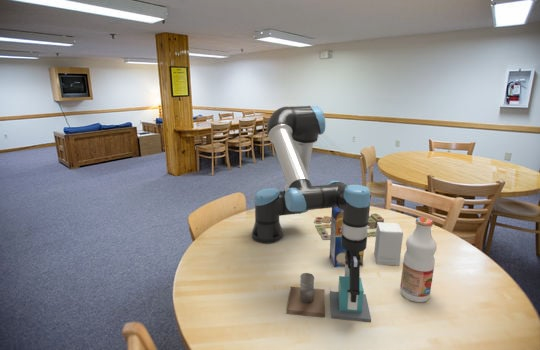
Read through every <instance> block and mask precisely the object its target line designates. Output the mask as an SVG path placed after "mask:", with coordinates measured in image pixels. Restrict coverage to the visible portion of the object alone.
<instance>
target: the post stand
mask: <svg viewBox="0 0 540 350" xmlns="http://www.w3.org/2000/svg"><path fill="white" fill-rule="evenodd" d="M299 282H300V284H299V286H300V287H299V286H290V287H289V295H288V301H287V307H286V314H289V315H298V316H307V317H308V316H309V317H317V318H318V317H319V318H325V317H326V302H325V301H326V297H325V295H326V293H325V292H326V291H325V290H326V289H323V288H315V287H314V285H315V276H314V275H313V274H312V273H309V272H304V273H302V274H300V281H299Z"/></svg>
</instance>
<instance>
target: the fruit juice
mask: <svg viewBox="0 0 540 350" xmlns="http://www.w3.org/2000/svg"><path fill="white" fill-rule="evenodd" d="M433 224H434V222H433V220H432V219H430V218H427V217H417V218H416V220H415V225H416V226H415V229H414V231H413V232H412V233H411V234H410V235H409V236H408V237H407V239H406V241H405V243H406V244H405V246H406V251H405V252H404V255H403V263H402V270H401V278H400V285H399V286H400V287H399V290H400V294H401V295H402V296H403V297H404V298H406V299H407V300H409V301H412V302H416V303H424V302H427V301H428V300H429V299H430V296H431V291H432V290H431V289H432V285H433V284H432V283H433V277H434V269H435V264H436V263H435V262H436V259H435V253H436V251H437V242H436V240H435V238H433V235H432V227H433Z"/></svg>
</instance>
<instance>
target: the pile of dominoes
mask: <svg viewBox="0 0 540 350" xmlns="http://www.w3.org/2000/svg"><path fill="white" fill-rule="evenodd" d="M377 222H383V223H385V219H384V217H382V216H381V215H380V214H379V213H370V215H369V220H368V226H370V229H369V230H375V229H377ZM313 223H314V224H315V226H314V227H315V229H316V231H317V232H318V234H319V235H320V238H321V239H322V240H323V241H330V236H331V234H329V233H328V231H327V230H326V229H331V216H327V215H324V216H323V217H322V216H316V217H315V219H314V221H313ZM322 223H323V224H322ZM371 237H373V238H376V230H375V231H367V238H371Z"/></svg>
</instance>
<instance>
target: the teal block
mask: <svg viewBox="0 0 540 350" xmlns="http://www.w3.org/2000/svg"><path fill="white" fill-rule="evenodd" d="M337 288H338V289H337V290H338V291H337V292H338V302H339V311H348V312H359V313H362V306H363V294H365V291H364V286H363V282H362V277H360V291H359V292H360V295H358V303H357V310H350V309H348V294H349V292H347V290H349V289H350V277H345V275H344V276H343V275H339V276H338V286H337Z"/></svg>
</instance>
